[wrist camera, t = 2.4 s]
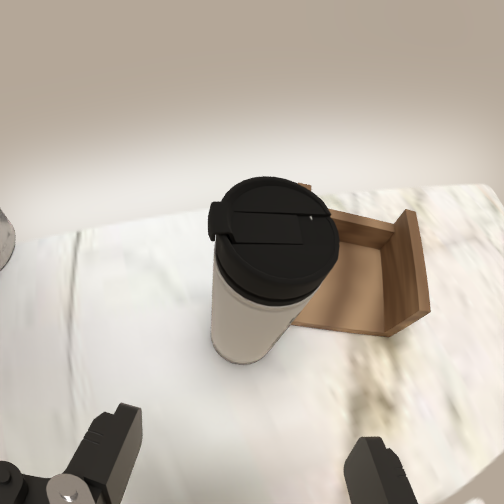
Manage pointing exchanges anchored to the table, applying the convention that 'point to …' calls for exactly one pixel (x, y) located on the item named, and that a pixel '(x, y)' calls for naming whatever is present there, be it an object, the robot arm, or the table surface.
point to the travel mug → (266, 262)
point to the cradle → (371, 278)
